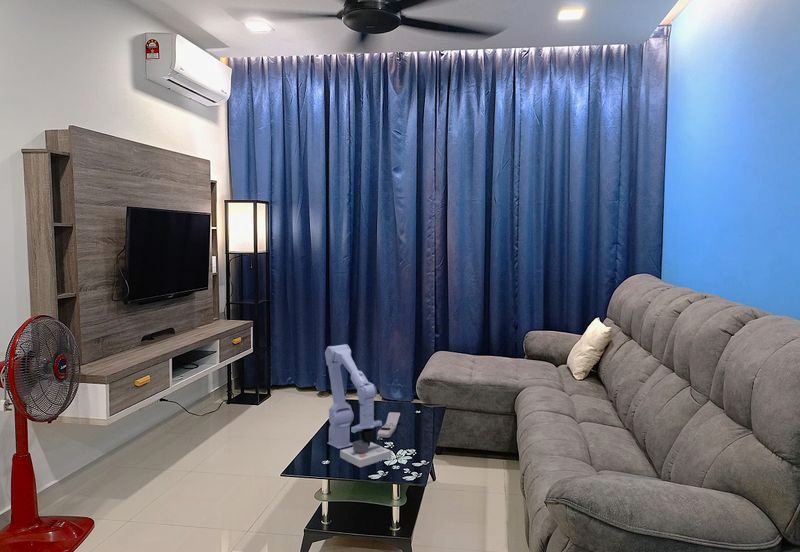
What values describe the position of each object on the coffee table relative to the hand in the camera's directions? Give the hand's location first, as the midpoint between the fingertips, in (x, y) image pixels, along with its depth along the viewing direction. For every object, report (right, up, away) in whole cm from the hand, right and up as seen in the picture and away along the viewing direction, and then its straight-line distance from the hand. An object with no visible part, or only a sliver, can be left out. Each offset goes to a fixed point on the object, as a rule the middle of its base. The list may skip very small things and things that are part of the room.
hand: (366, 446), depth 240 cm
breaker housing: (0, -5, 0) cm, 5 cm away
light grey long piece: (+8, -3, +34) cm, 35 cm away
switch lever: (-2, -1, -2) cm, 4 cm away
